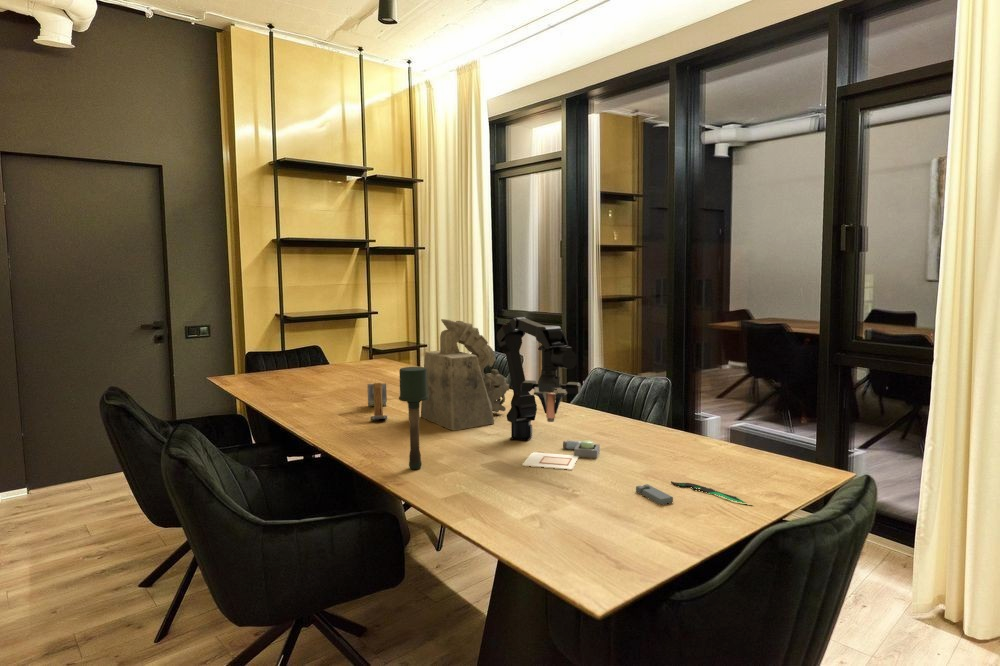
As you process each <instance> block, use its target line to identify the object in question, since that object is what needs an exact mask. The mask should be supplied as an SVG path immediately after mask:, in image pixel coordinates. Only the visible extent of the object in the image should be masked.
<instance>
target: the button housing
mask: <svg viewBox="0 0 1000 666" xmlns="http://www.w3.org/2000/svg"><path fill="white" fill-rule="evenodd" d="M599 452H600V453H601V444H599V443H598V444H597V443H596V444H595V443H594V449H581V443H578V444H577V445H576V447H575V449H574V453H573V454H574V456H579V458H584V457H588V459H596V458H597V459H598V457H599V455H600V453H599ZM598 454H599V455H598Z"/></svg>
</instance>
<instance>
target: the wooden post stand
mask: <svg viewBox="0 0 1000 666" xmlns="http://www.w3.org/2000/svg"><path fill="white" fill-rule="evenodd" d="M387 397H388V396H387V383H381V382H375V383H368V384H367V407H368V408H370V407H371V408H372V406H374V407H373V409H374V410H373V411H374V413H373V414H374V415H372V416H370V417H369V420H370V421H371V420H373V421H380V420H379V419H386V420H388V415H386V414H385V415H384V410H383V407H385V406H386V407H387V402H388V401H387V400H388V398H387Z"/></svg>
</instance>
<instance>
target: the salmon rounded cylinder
mask: <svg viewBox="0 0 1000 666" xmlns="http://www.w3.org/2000/svg"><path fill="white" fill-rule="evenodd" d="M555 394H556V393H555V392H551V393H549V392H546V413H545V414H546V416H545V417H546V418H547V420H546V421H547V422H548V423H554V422H555V418H556V414H555V400H556V396H555Z"/></svg>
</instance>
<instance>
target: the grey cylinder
mask: <svg viewBox="0 0 1000 666" xmlns="http://www.w3.org/2000/svg"><path fill="white" fill-rule="evenodd" d="M562 441H563V443H562V448H563V449H566V450H573V449H575V447H576V445H577V444H578V443H581V441H582V440H580V441H579V440H567V441H565V440H562Z"/></svg>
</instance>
